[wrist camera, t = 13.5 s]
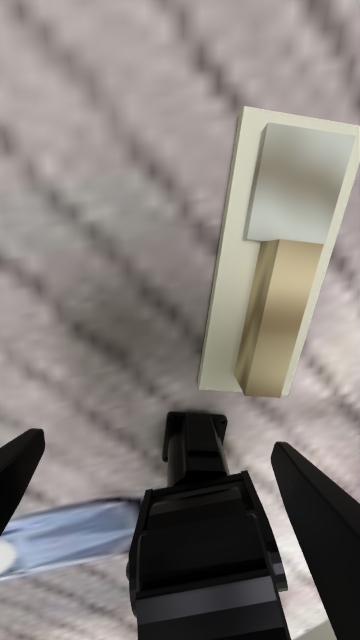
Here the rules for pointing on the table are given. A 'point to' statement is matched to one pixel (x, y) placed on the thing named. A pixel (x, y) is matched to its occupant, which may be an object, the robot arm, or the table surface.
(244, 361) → the turner
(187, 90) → the table surface
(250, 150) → the board
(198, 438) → the robot arm
